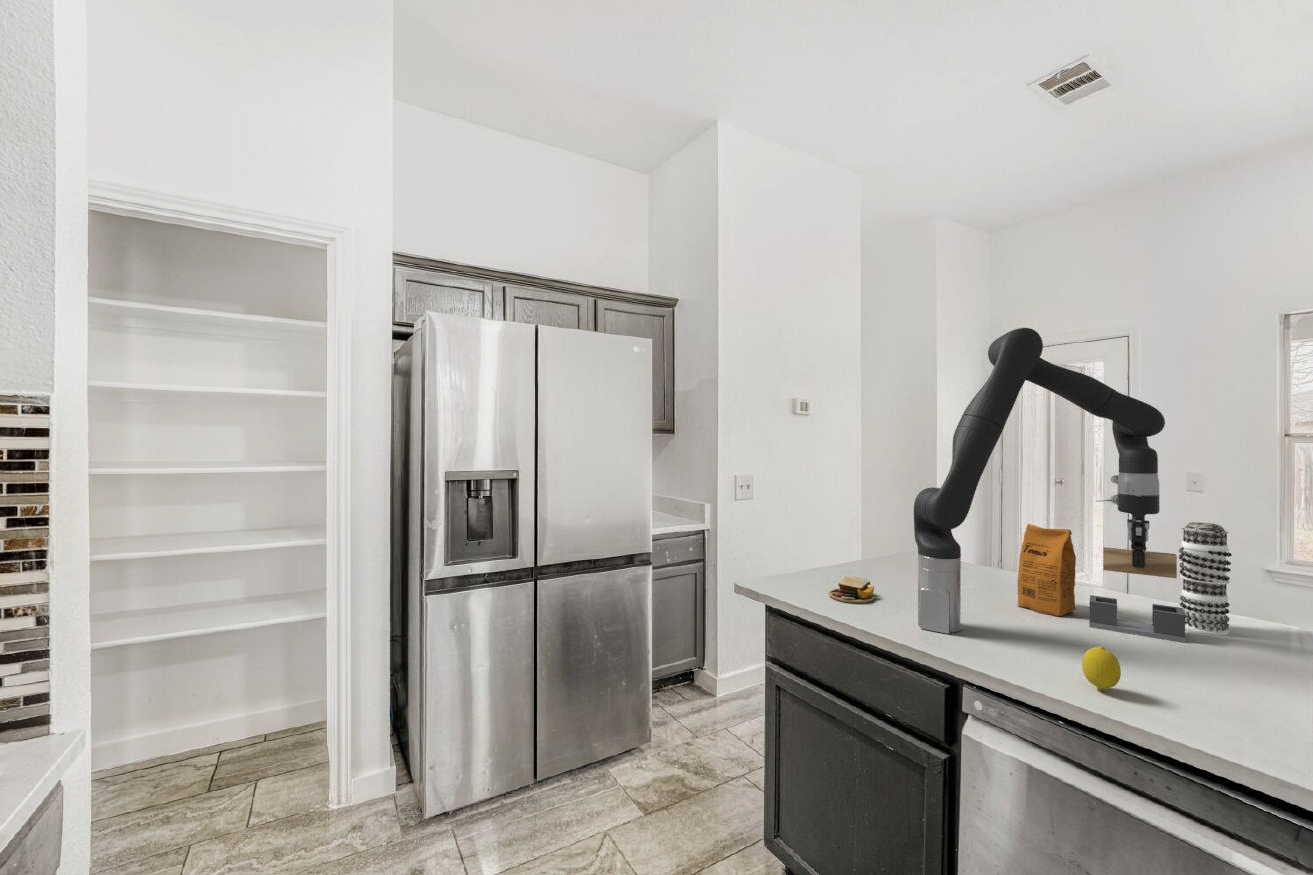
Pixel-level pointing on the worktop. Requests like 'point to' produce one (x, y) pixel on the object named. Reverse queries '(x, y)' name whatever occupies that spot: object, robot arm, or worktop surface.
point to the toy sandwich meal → (853, 590)
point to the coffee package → (1047, 571)
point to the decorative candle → (1205, 578)
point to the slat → (1154, 563)
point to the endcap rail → (1163, 626)
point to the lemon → (1101, 668)
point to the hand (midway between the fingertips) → (1138, 565)
